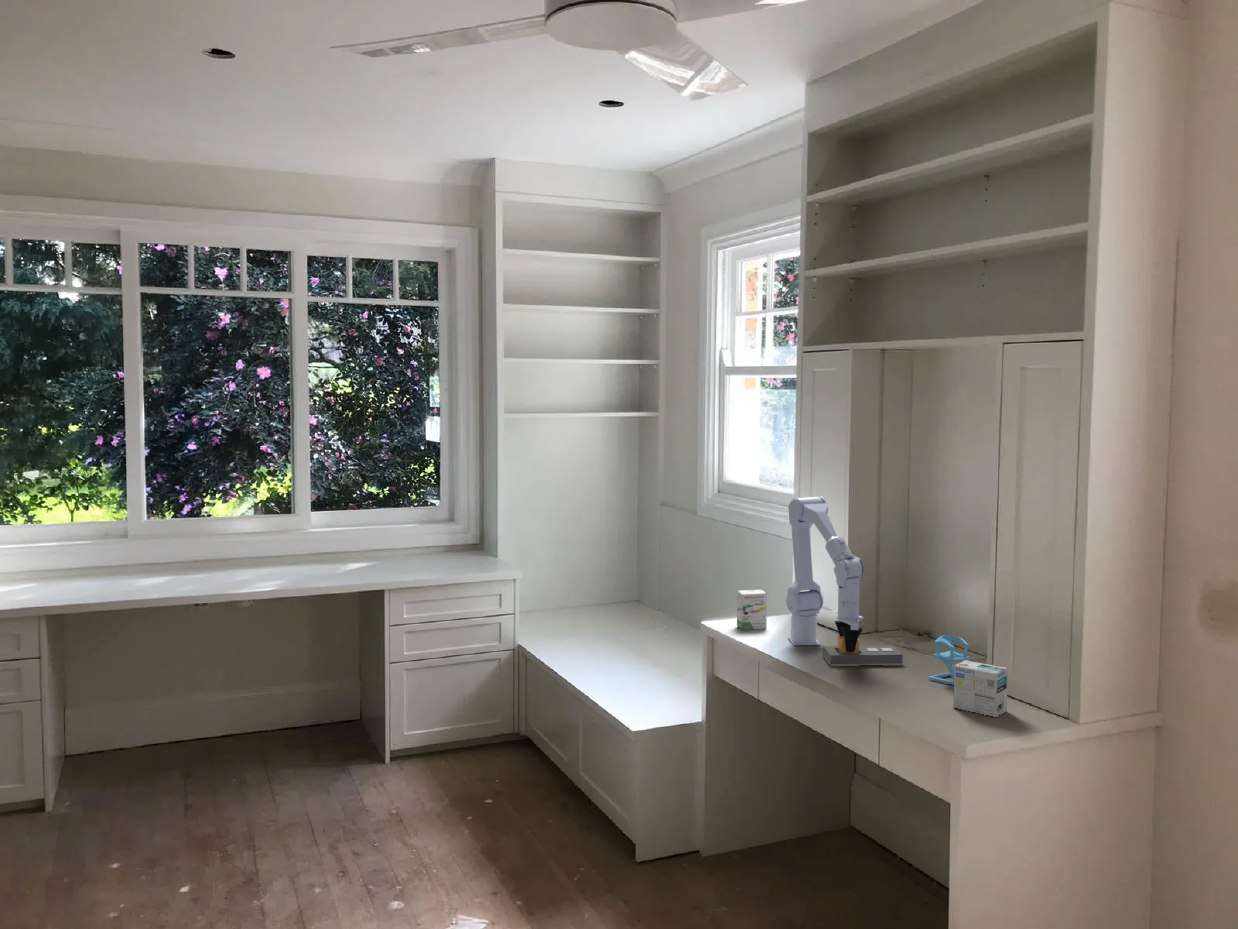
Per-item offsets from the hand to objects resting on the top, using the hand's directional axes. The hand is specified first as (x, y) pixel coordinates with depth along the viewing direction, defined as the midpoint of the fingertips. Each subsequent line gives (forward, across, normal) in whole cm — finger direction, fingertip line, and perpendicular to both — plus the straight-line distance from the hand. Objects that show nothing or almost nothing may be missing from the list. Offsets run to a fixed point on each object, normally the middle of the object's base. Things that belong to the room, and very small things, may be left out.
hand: (847, 649), depth 277 cm
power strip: (+3, 0, -4) cm, 5 cm away
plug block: (+3, 0, 0) cm, 3 cm away
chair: (+4, -20, -22) cm, 30 cm away
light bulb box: (+4, -42, -21) cm, 47 cm away
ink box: (+4, +38, +21) cm, 44 cm away
